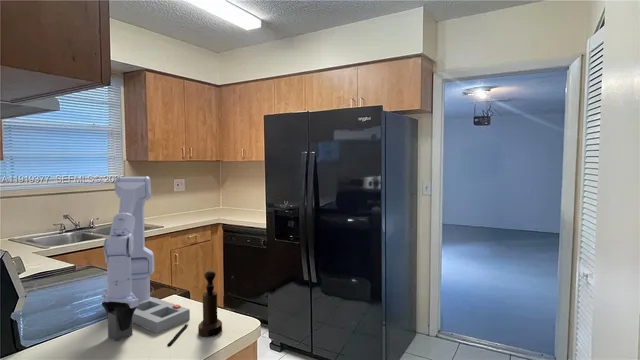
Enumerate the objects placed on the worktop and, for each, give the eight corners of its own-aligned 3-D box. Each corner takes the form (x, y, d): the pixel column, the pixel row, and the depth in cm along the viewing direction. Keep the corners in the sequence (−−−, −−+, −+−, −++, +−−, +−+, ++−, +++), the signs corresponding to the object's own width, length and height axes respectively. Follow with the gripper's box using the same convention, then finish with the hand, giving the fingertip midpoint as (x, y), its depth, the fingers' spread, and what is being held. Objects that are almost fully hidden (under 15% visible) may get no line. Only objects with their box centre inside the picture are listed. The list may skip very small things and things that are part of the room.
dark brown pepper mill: (197, 328, 104) (197, 267, 103) (220, 325, 106) (220, 265, 105) (199, 339, 97) (199, 274, 97) (223, 334, 100) (223, 271, 99)
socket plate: (121, 318, 110) (121, 307, 110) (153, 306, 119) (153, 295, 119) (157, 332, 101) (157, 320, 101) (189, 318, 110) (189, 307, 110)
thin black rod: (185, 326, 106) (185, 322, 106) (188, 326, 106) (188, 322, 106) (167, 347, 94) (167, 343, 94) (170, 347, 94) (170, 343, 94)
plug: (108, 337, 98) (107, 312, 98) (124, 331, 102) (123, 306, 101) (116, 341, 96) (115, 315, 96) (132, 334, 100) (132, 310, 99)
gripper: (90, 278, 98) (91, 326, 99) (119, 288, 91) (120, 340, 92) (115, 271, 104) (116, 317, 105) (145, 280, 97) (146, 329, 98)
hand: (120, 327), depth 99 cm, fingers closed on plug, 4 cm apart
